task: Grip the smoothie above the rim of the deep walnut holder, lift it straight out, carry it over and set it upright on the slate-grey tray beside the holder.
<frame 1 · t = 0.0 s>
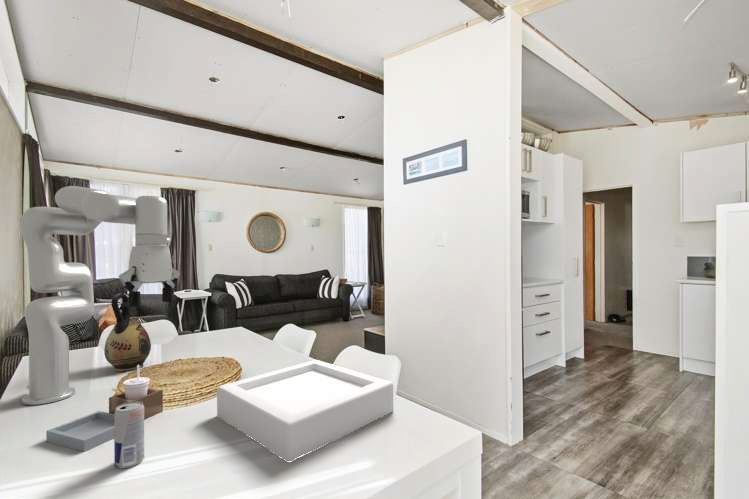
hand: (151, 304, 101), 31 cm above the table, tool pointing down, fingers open, 9 cm apart
slate tray: (92, 434, 92), on the table
tray: (306, 416, 103), on the table
ceramic jug: (126, 369, 146), on the table
deep holder: (136, 415, 103), on the table
smoothie: (136, 416, 103), resting in deep holder
energy drink: (129, 463, 79), on the table
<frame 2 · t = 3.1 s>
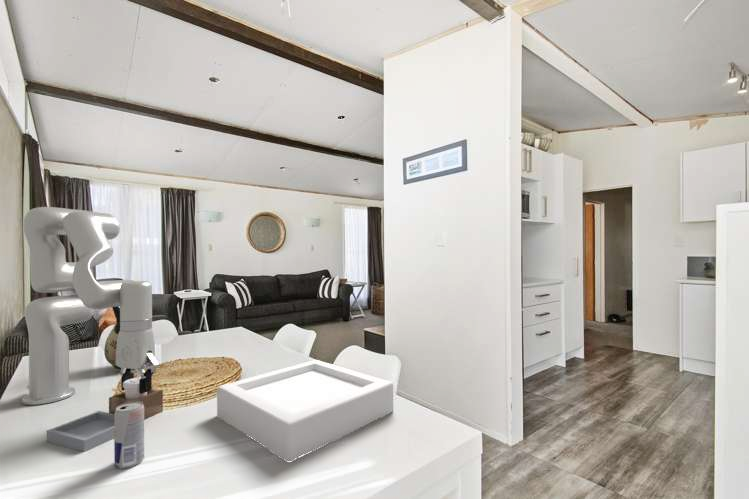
hand: (136, 389, 103), 7 cm above the table, tool pointing down, fingers closed on smoothie, 6 cm apart
smoothie: (136, 416, 103), resting in deep holder, touching gripper
everything else where it was.
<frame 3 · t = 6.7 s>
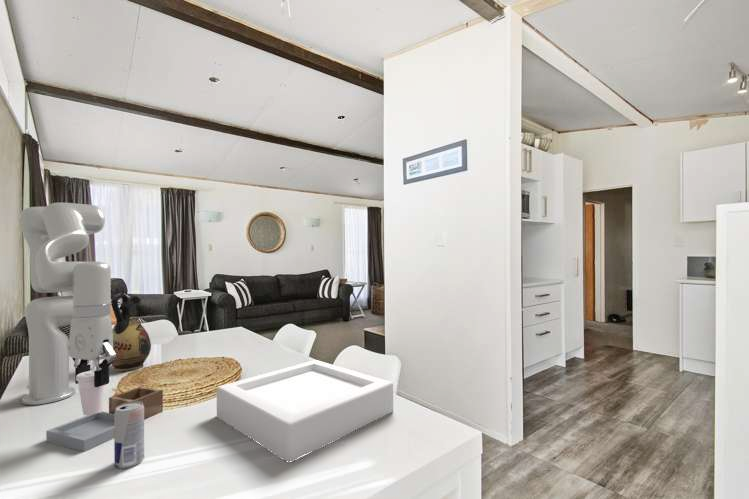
hand: (92, 383, 92), 13 cm above the table, tool pointing down, fingers closed on smoothie, 6 cm apart
smoothie: (92, 412, 92), point 5 cm above the table, touching gripper
everything else where it was.
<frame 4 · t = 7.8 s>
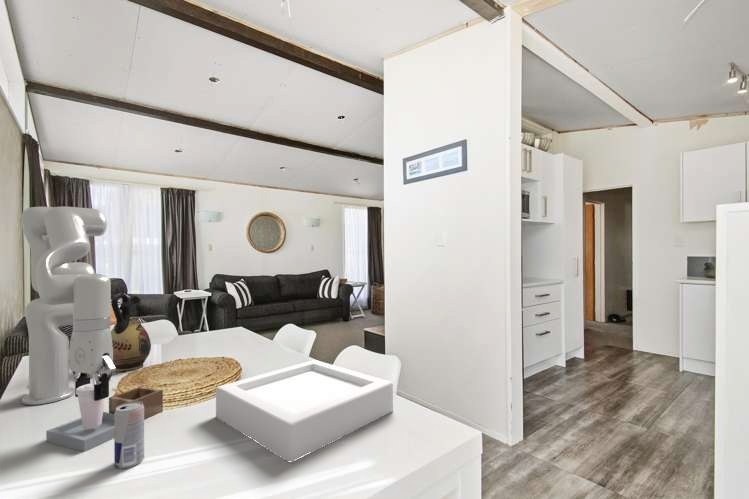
hand: (92, 396, 92), 9 cm above the table, tool pointing down, fingers closed on smoothie, 6 cm apart
smoothie: (92, 426, 92), point 2 cm above the table, touching gripper
everything else where it was.
when the fingers open (9 cm above the table, at t = 7.9 s): smoothie drops 1 cm, resting on slate tray.
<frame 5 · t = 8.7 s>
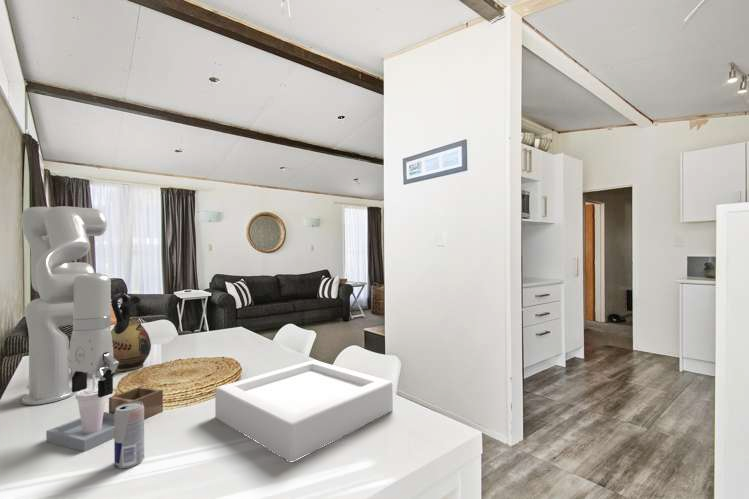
hand: (92, 392, 92), 10 cm above the table, tool pointing down, fingers open, 9 cm apart
smoothie: (92, 430, 92), point 1 cm above the table, touching slate tray
everything else where it was.
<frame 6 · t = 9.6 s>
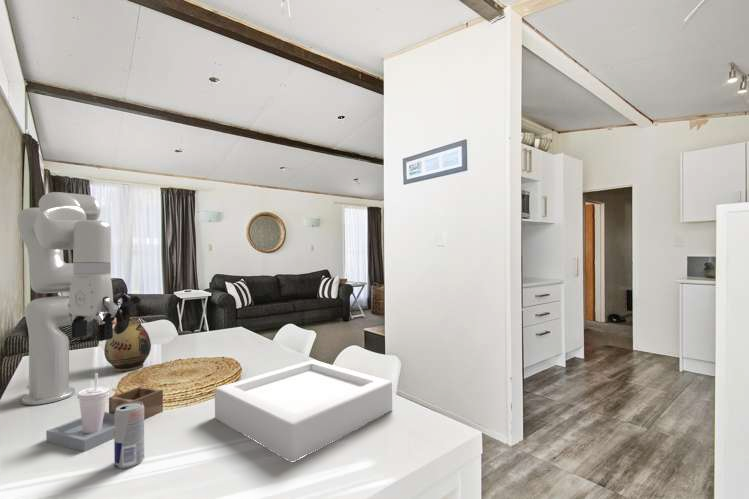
hand: (92, 338, 92), 24 cm above the table, tool pointing down, fingers open, 9 cm apart
nothing on the table moved.
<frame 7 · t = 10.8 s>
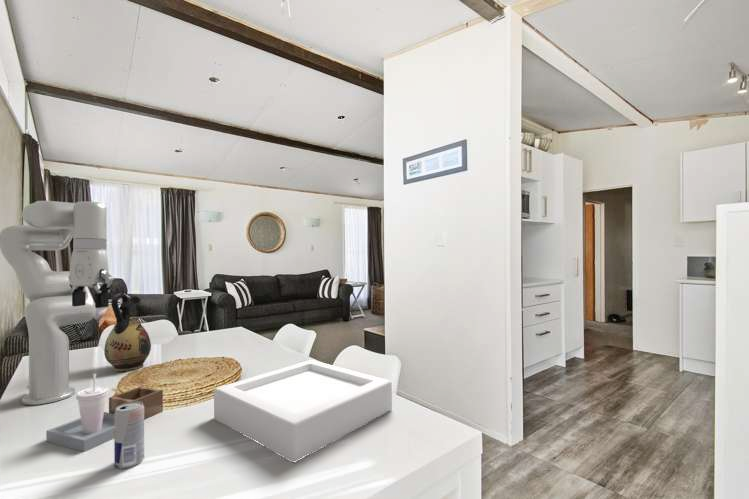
hand: (90, 306, 104), 30 cm above the table, tool pointing down, fingers open, 9 cm apart
nothing on the table moved.
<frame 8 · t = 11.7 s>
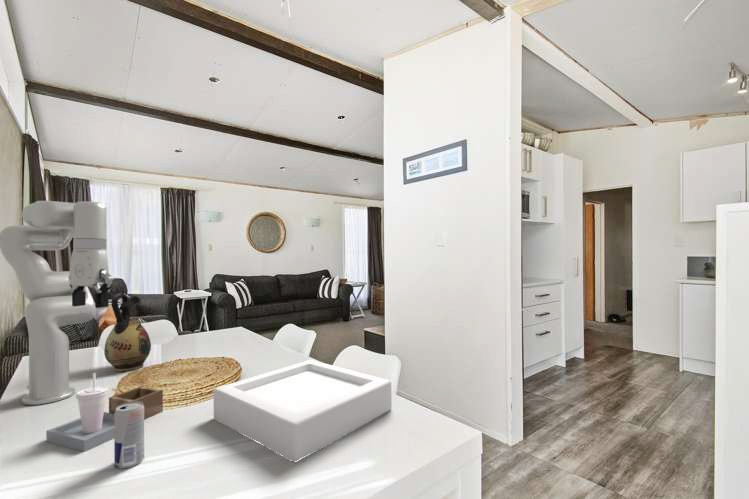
hand: (90, 306, 104), 30 cm above the table, tool pointing down, fingers open, 9 cm apart
nothing on the table moved.
at the end: smoothie inside the target area on the slate tray (0.2 cm from its centre), point 0.8 cm above the slate tray's base; smoothie tilted 0°; the gripper is holding nothing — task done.
